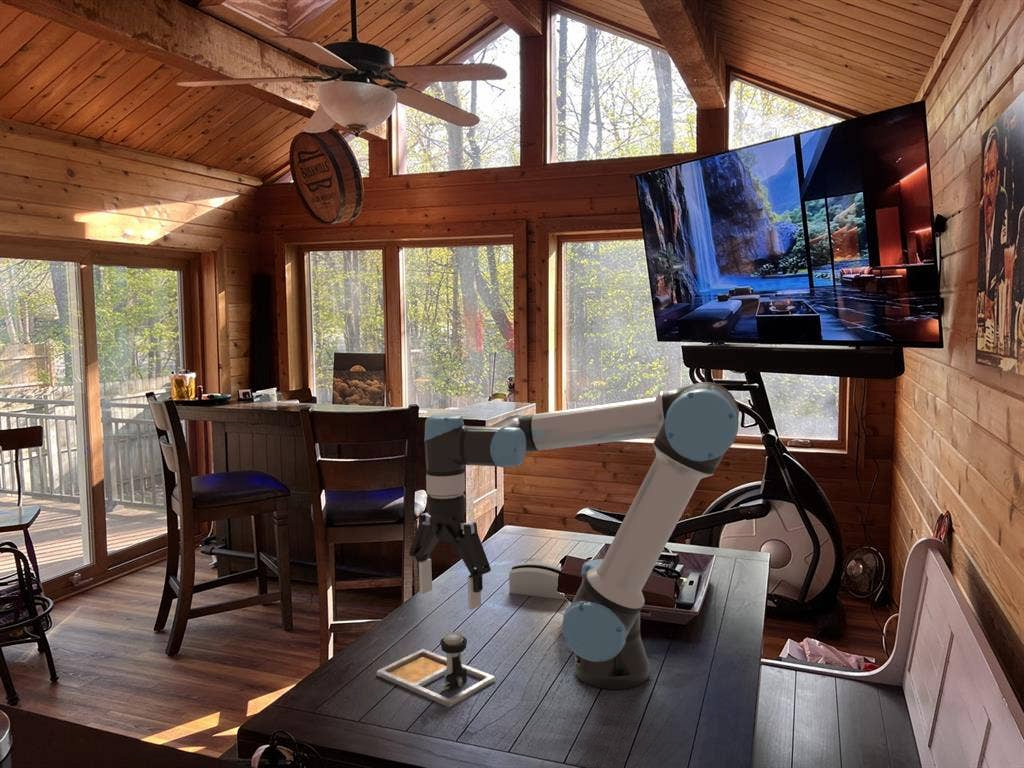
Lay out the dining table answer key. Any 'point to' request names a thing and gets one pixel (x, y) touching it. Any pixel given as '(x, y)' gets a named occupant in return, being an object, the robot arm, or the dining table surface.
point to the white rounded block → (535, 580)
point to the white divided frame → (429, 676)
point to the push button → (454, 660)
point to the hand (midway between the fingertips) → (449, 599)
